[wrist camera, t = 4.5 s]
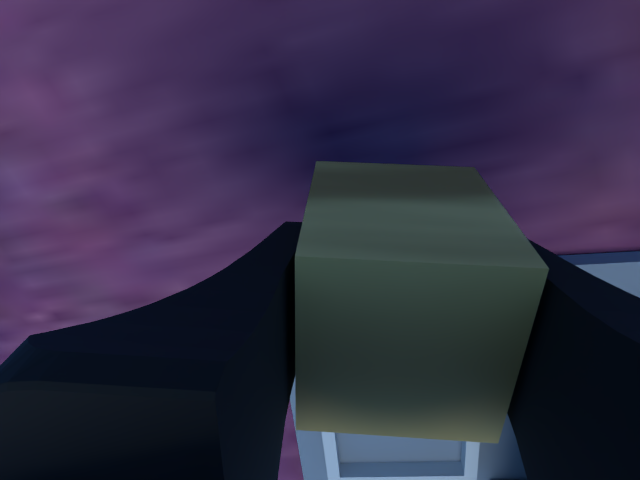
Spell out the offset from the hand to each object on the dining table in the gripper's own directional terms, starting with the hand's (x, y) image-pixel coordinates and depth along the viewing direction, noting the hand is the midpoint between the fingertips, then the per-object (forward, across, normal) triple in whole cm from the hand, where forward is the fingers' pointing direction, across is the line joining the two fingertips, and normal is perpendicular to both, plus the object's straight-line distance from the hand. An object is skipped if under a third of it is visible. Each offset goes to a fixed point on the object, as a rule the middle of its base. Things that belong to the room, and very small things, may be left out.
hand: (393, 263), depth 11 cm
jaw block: (+2, 0, 0) cm, 2 cm away
